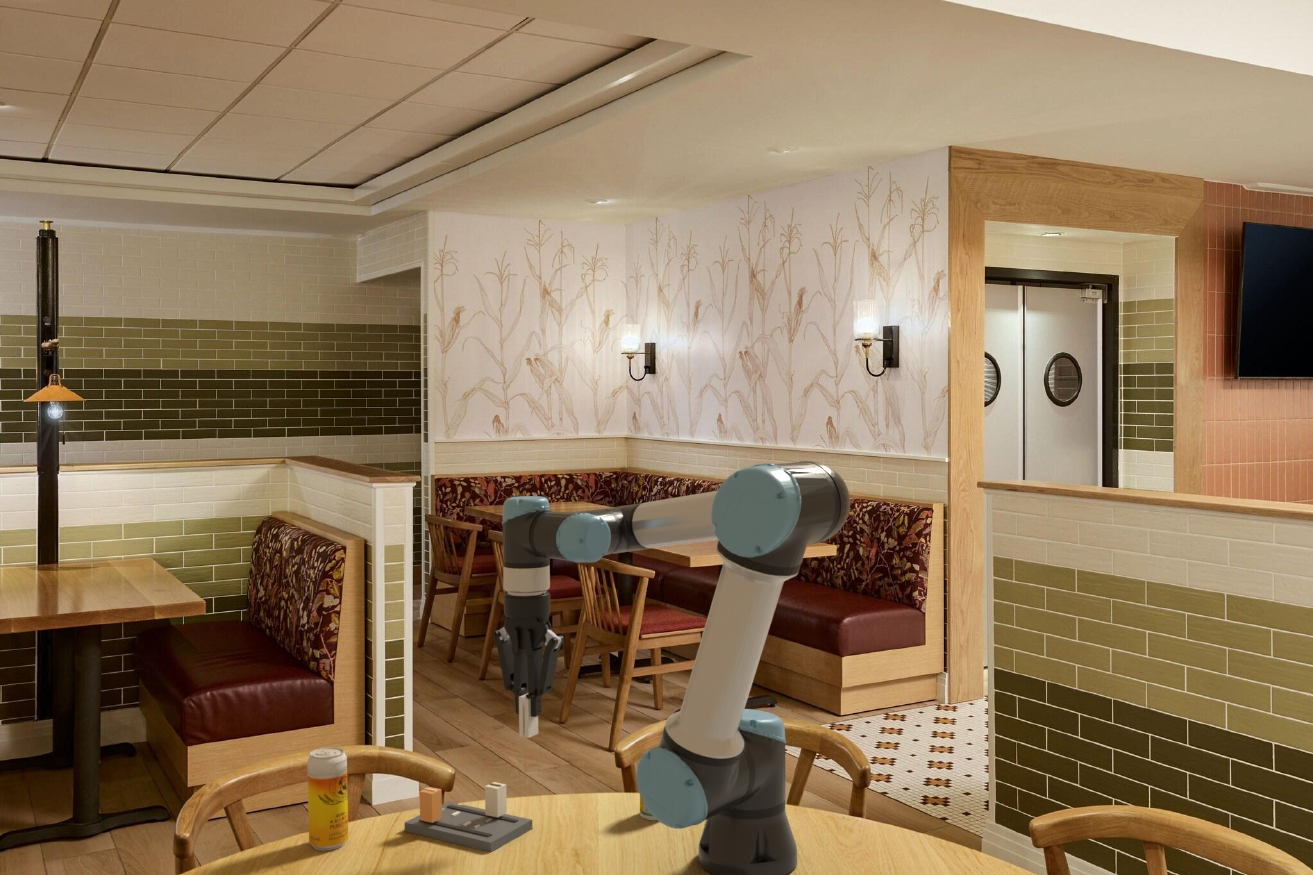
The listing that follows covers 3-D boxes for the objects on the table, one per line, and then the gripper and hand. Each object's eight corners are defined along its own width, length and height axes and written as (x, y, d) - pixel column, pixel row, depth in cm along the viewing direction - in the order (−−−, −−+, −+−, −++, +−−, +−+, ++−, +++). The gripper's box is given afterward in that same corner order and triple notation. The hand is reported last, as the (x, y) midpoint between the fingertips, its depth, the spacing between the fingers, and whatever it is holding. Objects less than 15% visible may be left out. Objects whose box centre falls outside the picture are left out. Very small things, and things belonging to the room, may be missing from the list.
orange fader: (442, 817, 187) (441, 788, 187) (432, 822, 185) (431, 792, 185) (429, 815, 188) (429, 785, 188) (420, 819, 186) (419, 789, 186)
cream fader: (506, 812, 189) (506, 783, 189) (497, 817, 187) (497, 787, 187) (494, 810, 190) (493, 780, 190) (485, 814, 188) (484, 785, 188)
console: (532, 828, 187) (532, 818, 187) (491, 851, 178) (491, 841, 178) (448, 809, 196) (448, 799, 196) (404, 831, 187) (404, 820, 187)
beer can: (337, 853, 178) (335, 759, 178) (301, 850, 179) (300, 756, 179) (355, 838, 184) (353, 747, 183) (320, 835, 185) (318, 745, 185)
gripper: (574, 591, 184) (575, 734, 185) (507, 585, 190) (509, 723, 191) (547, 598, 177) (549, 747, 178) (479, 591, 184) (481, 735, 185)
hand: (528, 734), depth 185 cm, fingers closed
